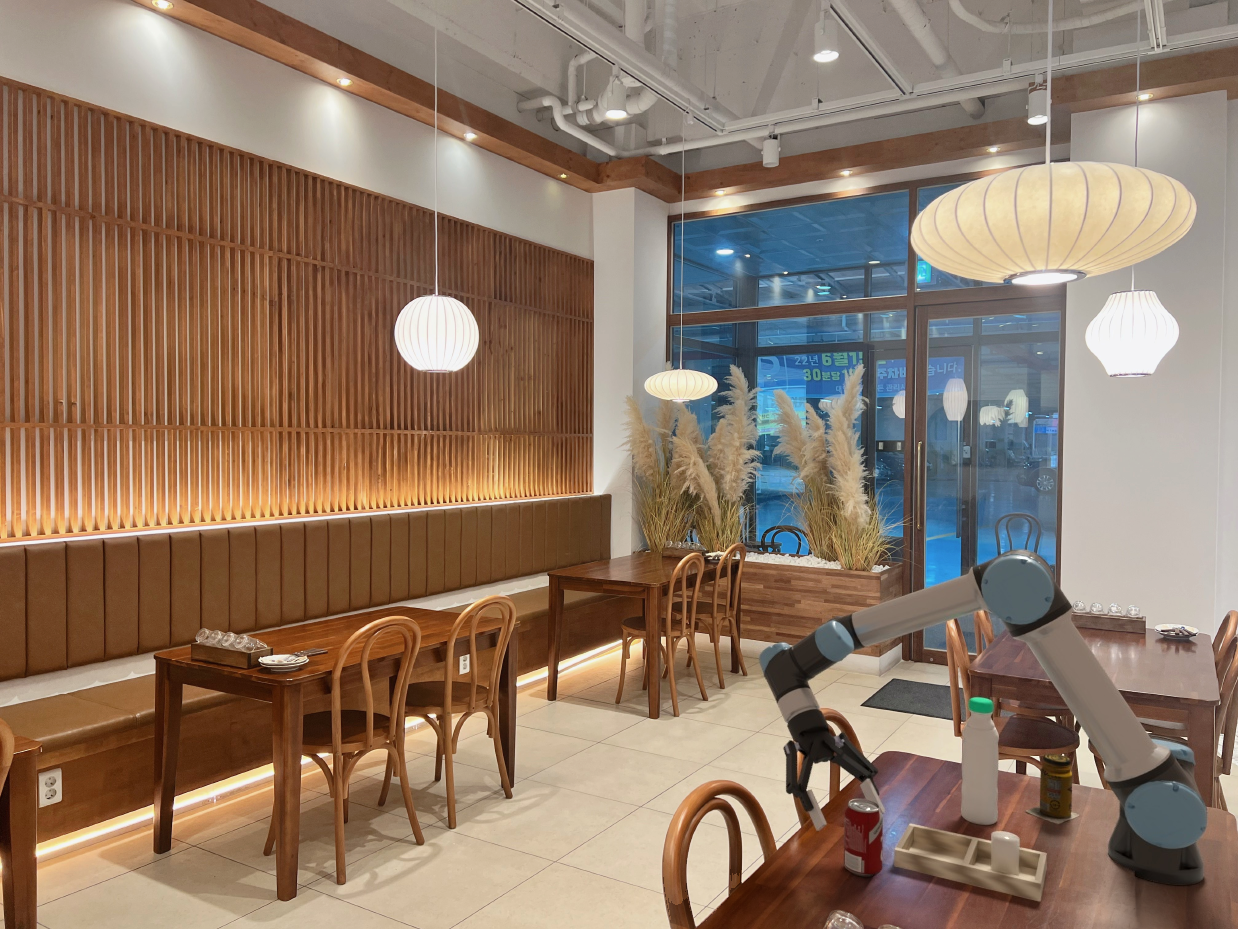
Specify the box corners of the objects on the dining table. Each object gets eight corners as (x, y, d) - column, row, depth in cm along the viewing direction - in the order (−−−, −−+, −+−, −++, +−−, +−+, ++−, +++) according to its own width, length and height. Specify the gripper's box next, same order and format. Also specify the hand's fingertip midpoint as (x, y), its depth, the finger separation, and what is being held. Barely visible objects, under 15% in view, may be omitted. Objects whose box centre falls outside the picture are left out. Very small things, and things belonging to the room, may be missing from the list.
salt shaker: (1020, 873, 155) (1020, 835, 155) (1017, 884, 151) (1018, 844, 151) (992, 867, 158) (993, 829, 158) (989, 878, 154) (989, 838, 154)
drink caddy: (1046, 875, 157) (1046, 853, 157) (1040, 907, 146) (1040, 883, 146) (909, 843, 169) (909, 823, 169) (894, 871, 158) (894, 849, 158)
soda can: (860, 882, 154) (861, 815, 154) (836, 865, 160) (837, 800, 160) (890, 875, 157) (891, 809, 156) (865, 858, 163) (866, 795, 163)
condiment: (1080, 815, 183) (1081, 759, 183) (1058, 825, 179) (1059, 767, 178) (1047, 803, 189) (1048, 749, 189) (1024, 812, 185) (1025, 756, 184)
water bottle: (1004, 821, 180) (1006, 701, 180) (984, 829, 176) (986, 706, 176) (973, 809, 186) (975, 693, 185) (953, 816, 182) (955, 698, 182)
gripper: (844, 718, 181) (894, 818, 168) (742, 734, 171) (786, 841, 157) (862, 700, 176) (914, 801, 163) (758, 714, 166) (805, 824, 152)
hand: (851, 821), depth 160 cm, fingers open, 13 cm apart
